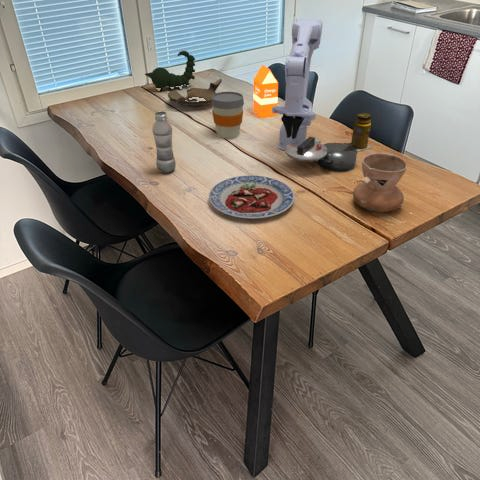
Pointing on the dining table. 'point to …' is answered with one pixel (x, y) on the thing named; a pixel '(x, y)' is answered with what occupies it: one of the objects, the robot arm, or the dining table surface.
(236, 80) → the dining table surface
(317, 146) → the cooker lid
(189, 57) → the toy figurine
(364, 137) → the condiment
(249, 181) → the ceramic plate
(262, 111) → the orange juice
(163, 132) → the plastic bottle
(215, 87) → the oil lamp
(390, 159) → the brown clay hourglass vessel
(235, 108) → the reusable coffee cup
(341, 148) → the cooker body
